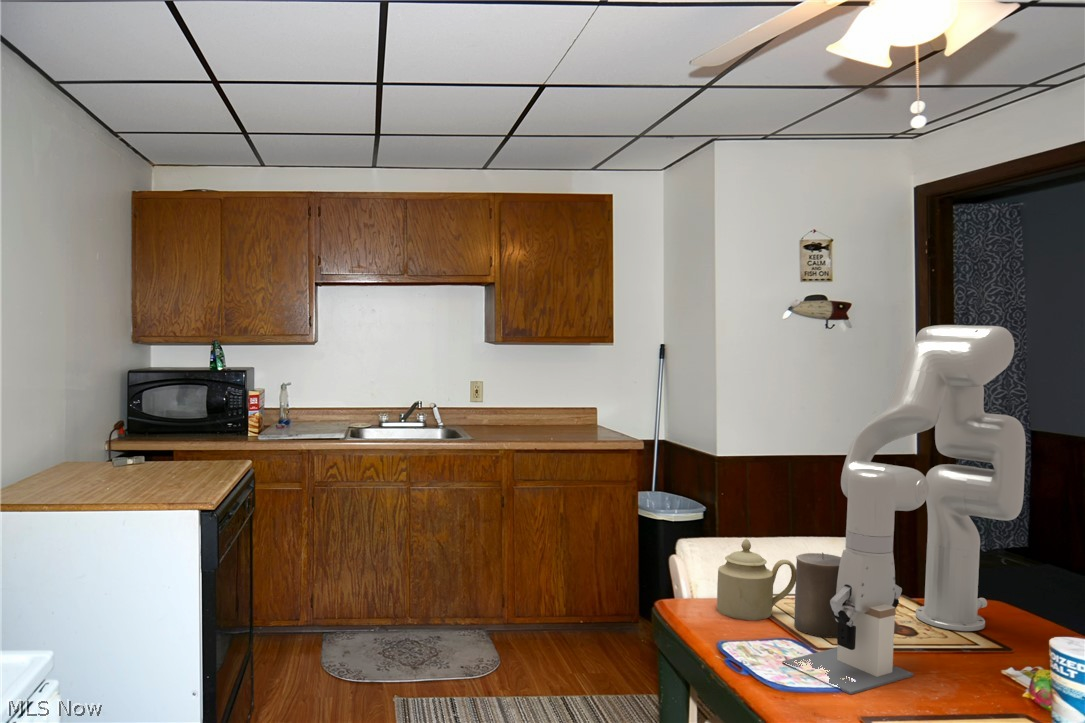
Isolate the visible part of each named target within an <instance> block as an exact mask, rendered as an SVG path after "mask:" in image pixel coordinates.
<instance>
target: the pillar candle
mask: <svg viewBox="0 0 1085 723" xmlns="http://www.w3.org/2000/svg"><path fill="white" fill-rule="evenodd" d="M795 558H796V565H795V568H796V582H795V589H794V592H795V593H794V618H793V619H794V621H793V622H794V628H795V629H796V630H798V631H800V632H802V633H804V634H807V633H808V635H812V636H814V635H815V637H821V638H837V633H838V622H837V621H836V620H835V616H834V615H833V613H832V612H833V610H832V608H831V605H830V600H831V599H832V598H833V597H834V596H835V595H836V588H837V579H838V571H839V565H840V560H841V556H838V555H834V554H829V553H824V552H821V553H819V552H815V553H814V552H808V553H807V552H806V553H800V554H798V555H796V556H795Z"/></svg>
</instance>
